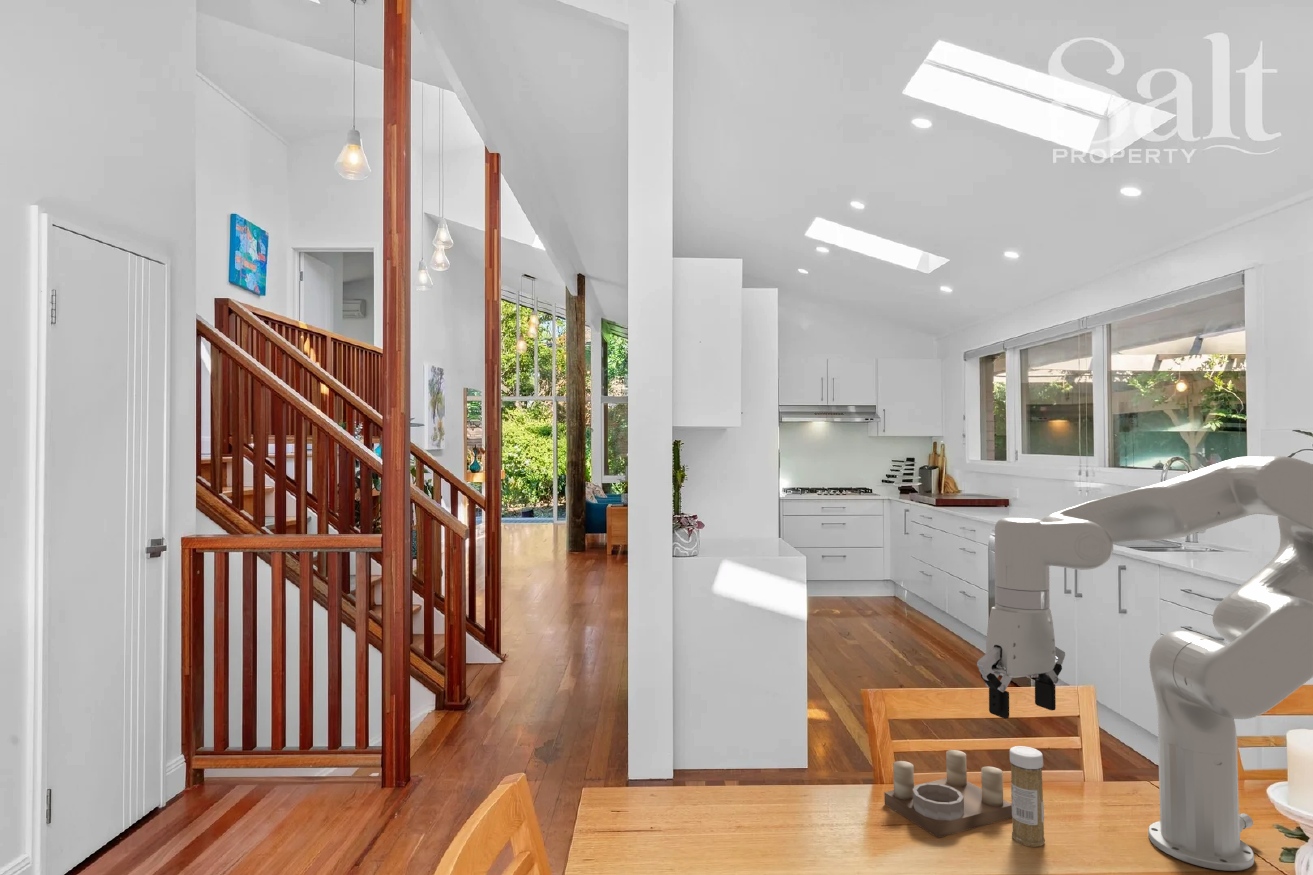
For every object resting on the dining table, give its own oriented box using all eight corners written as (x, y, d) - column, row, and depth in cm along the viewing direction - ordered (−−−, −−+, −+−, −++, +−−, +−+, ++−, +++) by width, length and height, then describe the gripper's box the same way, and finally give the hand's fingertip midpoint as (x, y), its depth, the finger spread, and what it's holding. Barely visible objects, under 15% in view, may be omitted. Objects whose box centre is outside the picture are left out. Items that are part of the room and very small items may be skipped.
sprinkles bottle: (1051, 842, 111) (1048, 752, 111) (1034, 851, 108) (1032, 758, 109) (1021, 829, 115) (1019, 742, 115) (1005, 837, 112) (1003, 748, 112)
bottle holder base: (956, 786, 130) (956, 746, 130) (1013, 817, 118) (1012, 773, 119) (884, 804, 123) (883, 762, 123) (937, 837, 112) (937, 791, 112)
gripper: (1040, 591, 119) (1041, 697, 119) (960, 598, 113) (960, 710, 112) (1083, 599, 112) (1084, 712, 112) (1000, 607, 106) (1001, 727, 105)
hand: (1022, 711), depth 112 cm, fingers open, 9 cm apart
